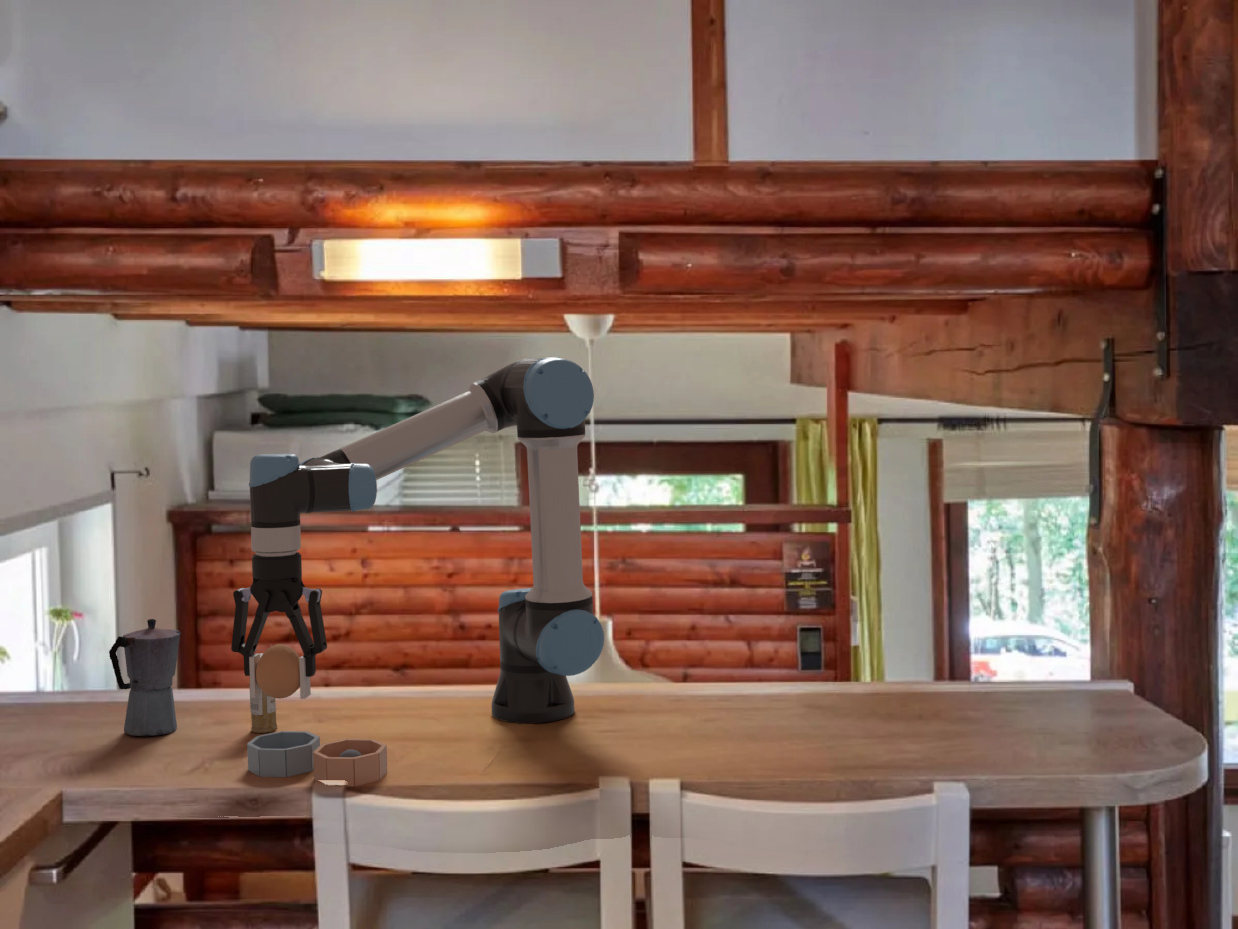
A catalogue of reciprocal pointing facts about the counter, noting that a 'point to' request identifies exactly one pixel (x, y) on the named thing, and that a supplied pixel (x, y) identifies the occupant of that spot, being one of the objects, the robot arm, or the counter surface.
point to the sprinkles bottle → (263, 713)
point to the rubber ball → (350, 753)
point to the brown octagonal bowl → (351, 761)
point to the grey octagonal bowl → (282, 753)
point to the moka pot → (148, 679)
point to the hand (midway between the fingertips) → (280, 696)
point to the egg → (278, 671)
